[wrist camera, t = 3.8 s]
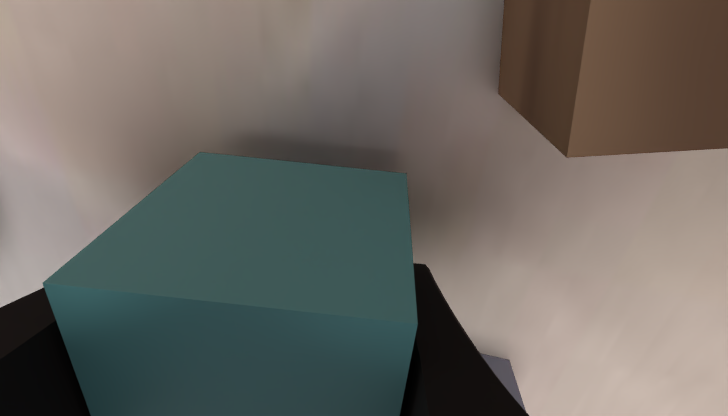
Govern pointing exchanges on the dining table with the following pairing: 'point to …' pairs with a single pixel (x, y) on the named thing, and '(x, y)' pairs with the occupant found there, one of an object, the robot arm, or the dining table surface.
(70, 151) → the dining table surface
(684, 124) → the walnut block
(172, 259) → the teal block
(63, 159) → the dining table surface
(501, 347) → the dining table surface
